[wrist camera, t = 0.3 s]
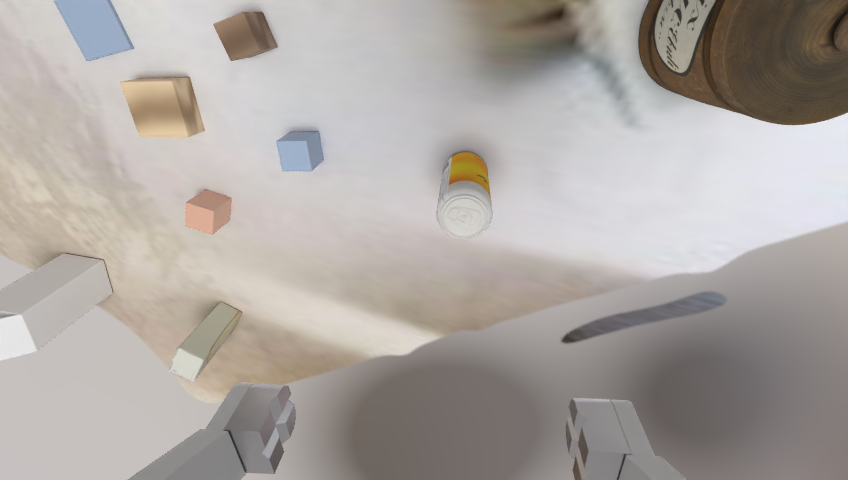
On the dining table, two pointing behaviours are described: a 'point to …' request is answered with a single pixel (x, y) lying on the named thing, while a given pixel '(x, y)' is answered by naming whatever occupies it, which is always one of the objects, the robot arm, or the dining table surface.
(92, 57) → the tile
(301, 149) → the blue cube
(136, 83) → the oak base
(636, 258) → the dining table surface
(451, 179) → the beer can
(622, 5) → the dining table surface
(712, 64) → the wooden container
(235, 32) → the walnut cube
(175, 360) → the skincare box
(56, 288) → the milk carton
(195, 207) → the terracotta cube
